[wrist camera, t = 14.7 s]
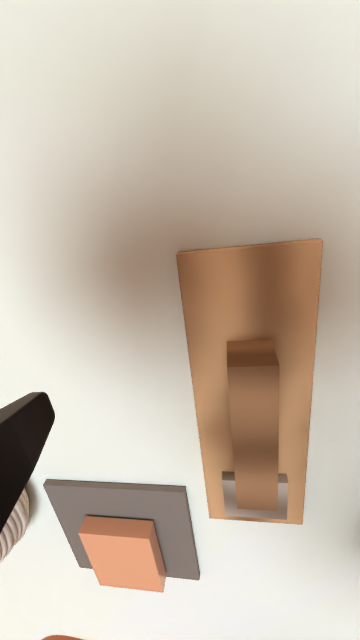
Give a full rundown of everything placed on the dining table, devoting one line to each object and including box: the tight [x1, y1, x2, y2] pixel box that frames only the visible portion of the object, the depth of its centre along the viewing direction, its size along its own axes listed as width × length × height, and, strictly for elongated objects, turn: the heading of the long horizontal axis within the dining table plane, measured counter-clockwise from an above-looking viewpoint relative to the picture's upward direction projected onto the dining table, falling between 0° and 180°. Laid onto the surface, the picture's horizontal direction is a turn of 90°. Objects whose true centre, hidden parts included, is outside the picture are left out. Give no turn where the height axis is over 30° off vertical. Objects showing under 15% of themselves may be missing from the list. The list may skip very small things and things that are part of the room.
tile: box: [78, 516, 166, 592], centre depth 30 cm, size 7×2×9 cm
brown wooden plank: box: [222, 340, 288, 520], centre depth 20 cm, size 16×5×3 cm, turn 8°
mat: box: [43, 479, 200, 580], centre depth 30 cm, size 14×14×1 cm
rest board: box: [176, 239, 323, 525], centre depth 21 cm, size 8×24×1 cm, turn 7°
